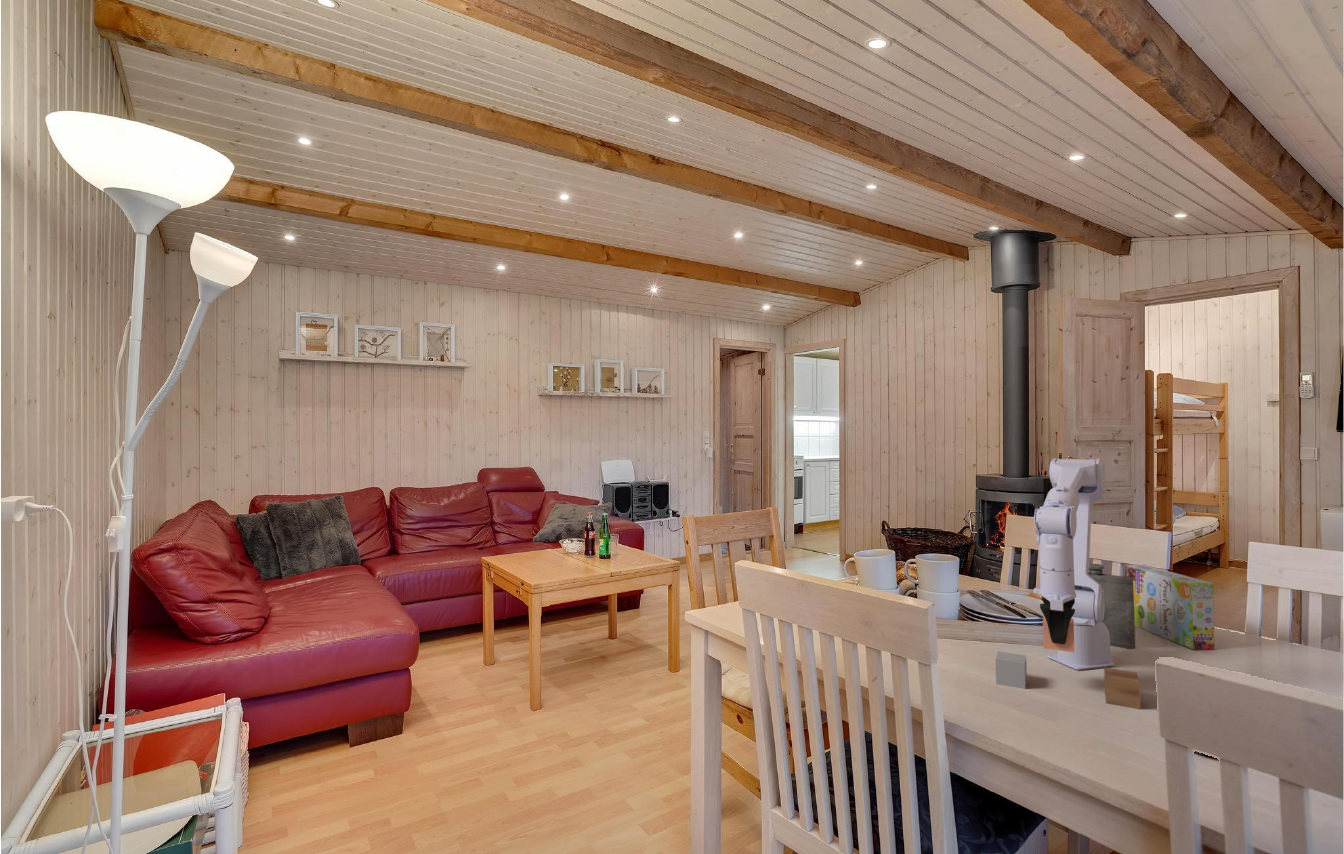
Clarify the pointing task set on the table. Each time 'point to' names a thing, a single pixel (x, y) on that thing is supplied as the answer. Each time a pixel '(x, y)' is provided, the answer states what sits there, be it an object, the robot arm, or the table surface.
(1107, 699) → the walnut block
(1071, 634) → the terracotta block
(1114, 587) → the dark grey slab
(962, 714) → the table surface
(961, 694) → the table surface
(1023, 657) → the slate block
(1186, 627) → the snack box
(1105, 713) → the table surface
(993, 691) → the table surface
